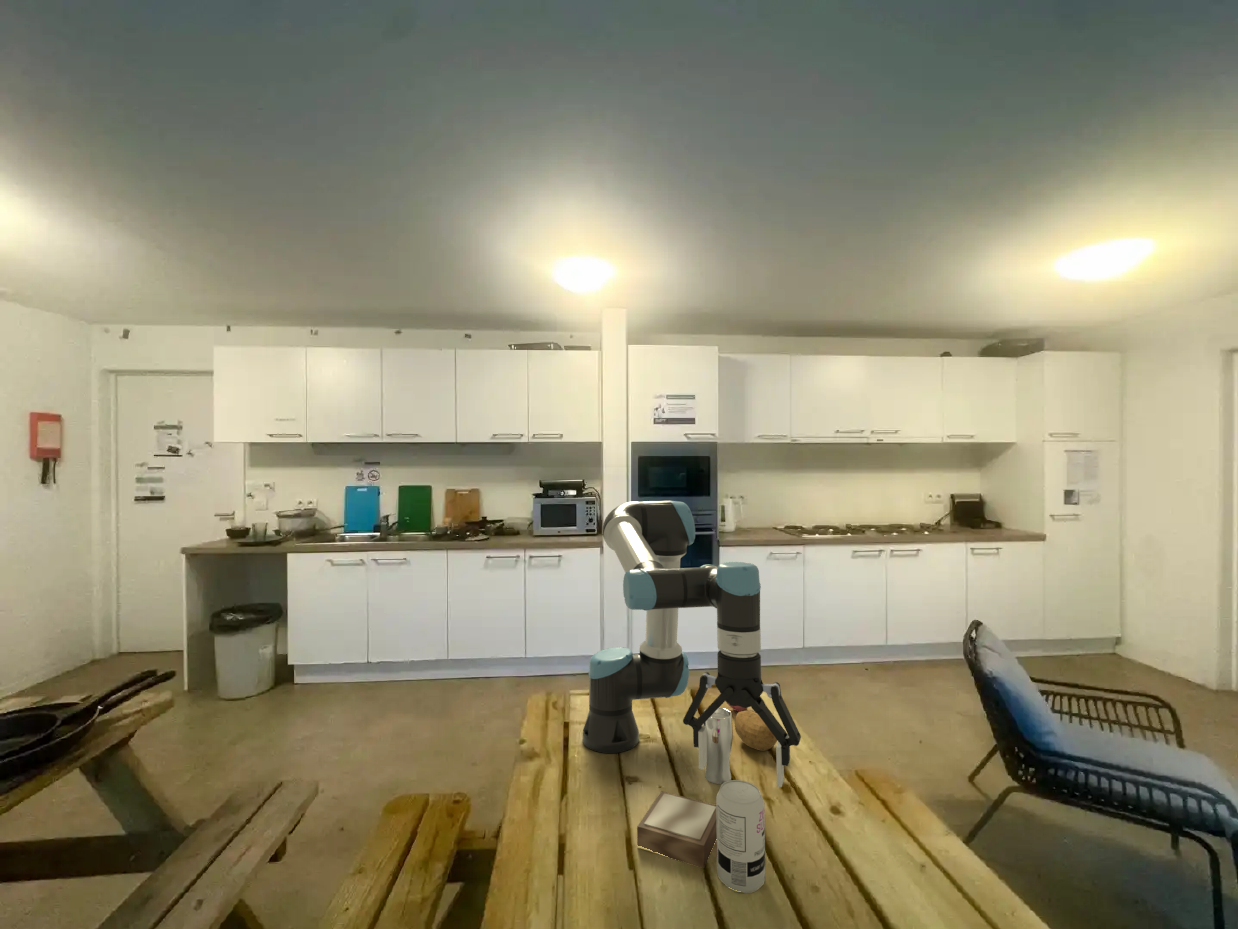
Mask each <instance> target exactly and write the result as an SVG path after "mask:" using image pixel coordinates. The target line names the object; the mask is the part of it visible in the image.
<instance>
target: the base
mask: <svg viewBox="0 0 1238 929" xmlns="http://www.w3.org/2000/svg"><path fill="white" fill-rule="evenodd" d="M636 829H637V830H636V831H637V832H636V834H637V835H636V836H637V838H636V839H637V840H636V843H637V845H638V846H642V847H644V848H647V849H650V850H652V851H653V852H658V853H660V854H663V855H665V856H668V857H669V859H671V858H672V860H675V859H676V860H675V861H678V860H679V861H678V862H682V863H684V864H687V865H690V866H691V865H692V866H694V867H697V868H701V869H705V868H706V864H707V863H708V861H707V860H709V858H710V856H711V854H710V852H711V853H712V851H713V849H714V847H715V845H714V843H715V844H716V842H717V840H716V839H717V811H716V804H715V803H710V802H706V801H702V800H698V799H694V798H691V797H687V796H682V795H680V794H679V795H678V794H675V793H671V792H667V791H664V790H661V791H660V793H659V794H658V795H657V796H656V798H655V800H654V801H653V803H652V804H651V806H650V807H649V809H647V812H646V813H645V814H644V816H643V817H642V818H641V820H640V822H639V823H638V824H637V827H636ZM715 841H716V842H715ZM637 845H636V846H637ZM713 846H714V847H713ZM712 848H713V849H712ZM711 850H712V851H711ZM709 855H710V856H709ZM665 856H664V857H665ZM668 857H667V858H668ZM708 857H709V858H708Z"/></svg>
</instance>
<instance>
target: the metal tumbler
mask: <svg viewBox="0 0 1238 929" xmlns="http://www.w3.org/2000/svg"><path fill="white" fill-rule="evenodd" d="M706 709H707V708H705V709H704V710H703V712H704V711H705V710H706ZM732 716H733V715H732V711H730V710H729V709H727V708H725V707H721V706H720V707H719V708H718V709H717V710H716V711H715V712H714V713H713V714H712V715H711V716H710V717H709V719H708V720H707V721H706V722H705V723H704V724H703V725H702V726H707V764H706V765H705V773H704V778H705V780H707V782H709V783H711V784H713V785H722V784H723V783H725V782H727V781H730V780H732V774H731V768H730V758H731V752H732V745H733V739H734V738H733V737H734V736H733V734H734V730H733V727H734V726H733V717H732Z"/></svg>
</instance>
